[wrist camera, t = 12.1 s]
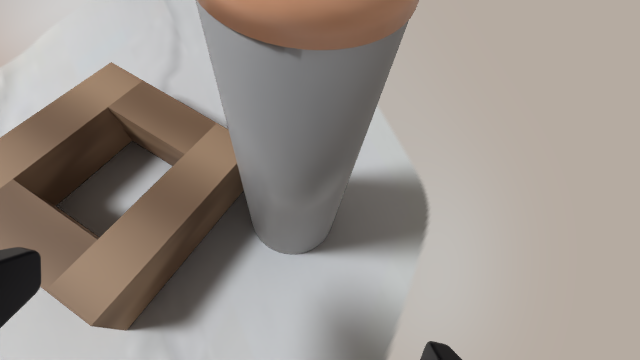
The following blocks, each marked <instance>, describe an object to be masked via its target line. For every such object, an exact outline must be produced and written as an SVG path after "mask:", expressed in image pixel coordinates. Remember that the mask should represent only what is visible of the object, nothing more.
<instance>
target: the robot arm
mask: <svg viewBox="0 0 640 360" xmlns="http://www.w3.org/2000/svg"><path fill="white" fill-rule="evenodd" d="M40 286H41V256H40V254H39V252H37V251H35V250H31V249H27V248H22V247H14V248H8V249H3V250H0V328H1V327H2V326H3V325H4V324H5V323H6V322H7V321H8V320H9V319H10V318H11V317H12V316H13V315H14V314H15V313H16V312H17V311H18V310H19V309H20V308H21V307H22V306H23V305H25V304H26V303H27V302H28V301H29V300H30V299H31V298H32V297H33V296H34V295H35V294H36V293H37V291H38V290H39V288H40ZM420 360H462V359H461V358H460V357H459V356H458V355H457V354H456V353H455V352H454V351H453V350H452V349H451V348H450V347H449V346H447V345H445V344H442V343H437V342H433V341H430V342H428V343H427V344H426V346H425V348H424V351H423V354H422V357H421V359H420Z"/></svg>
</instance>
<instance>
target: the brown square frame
mask: <svg viewBox="0 0 640 360" xmlns="http://www.w3.org/2000/svg"><path fill="white" fill-rule="evenodd" d="M131 141H133V142H135V143H137V144H138V145H140V146H141V147H143V148H145V149H146V150H148V151H149V152H151V153H153V154H154V155H156V156H157V157H159V158H161V159H162V160H164V161H165V162H167V163H169V164H170V165H172V167H171V168H170V169H169V170H168V171H167V172H166V173H165V174H164V175H163V176H162V177H161V178H160V179H159V180H158V181H157V182H156V183H155V184H154V185H153V186H152V187H151V188H150V189H149V190H148V191H147V192H146V193H145V194H144V195H143V196H142V197H141V198H140V199H139V200H138V201H137V202H136V203H135V204H134V205H133V206H131V207H130V208H129V209H128V210H127V211H126V212H125V213H124V214H123V215H122V216H121V217H120V218H119V219H118V220H117V221H116V222H115V223H114V224H113V225H112V226H111V227H110V228H109V229H108V230H107V231H106V232H105V233H104V234H103V235H102V236H101V237H98V236H97V235H95V234H94V233H93V232H91V231H90V230H88V229H87V228H86V227H84V226H83V225H81V224H80V223H79V222H77V221H76V220H74V219H73V218H71V217H70V216H69V215H67V214H66V213H64V212H63V211H62V210H60V209H59V208H57V207H56V205H57V204H58V203H60V202H61V201H62V200H63V199H64V198H66V197H67V196H68V195H69V194H70V193H71V192H73V191H74V190H75V189H76V188H77V187H78V186H80V185H81V184H82V183H83V182H84V181H85V180H87V179H88V178H89V177H90V176H91V175H92V174H94V173H95V172H96V171H97V170H98V169H99V168H101V167H102V166H103V165H104V164H105V163H107V162H108V161H109V160H110V159H111V158H112V157H114V156H115V155H116V154H117V153H118V152H119V151H121V150H122V149H123V148H124V147H125V146H126V145H128V144H129V143H130V142H131ZM243 190H244V188H243V185H242V181H241V177H240V173H239V169H238V165H237V161H236V157H235V153H234V149H233V145H232V141H231V137H230V134H229V130H228V129H226V128H225V127H223V126H221V125H219V124H218V123H216V122H214V121H212V120H211V119H209V118H207V117H205V116H204V115H202V114H200V113H198V112H197V111H195V110H193V109H192V108H190V107H188V106H186V105H185V104H183V103H181V102H179V101H178V100H176V99H174V98H172V97H171V96H169V95H167V94H165V93H164V92H162V91H160V90H159V89H157V88H155V87H153V86H152V85H150V84H148V83H146V82H145V81H143V80H141V79H139V78H138V77H136V76H134V75H132V74H131V73H129V72H127V71H126V70H124V69H122V68H120V67H119V66H117V65H115V64H113V63H112V62H111V63H109V64H108V65H106V66H105V67H103V68H102V69H101V70H99V71H98V72H96V73H95V74H93V75H92V76H90V77H89V78H87V79H86V80H84V81H83V82H81V83H80V84H79V85H77V86H76V87H74V88H73V89H71V90H70V91H68V92H67V93H65V94H64V95H62V96H61V97H59V98H58V99H56V100H55V101H54V102H52V103H51V104H49V105H48V106H46V107H45V108H43V109H42V110H40V111H39V112H37V113H36V114H34V115H33V116H31V117H30V118H29V119H27V120H26V121H24V122H23V123H21V124H20V125H18V126H17V127H15V128H14V129H12V130H11V131H9V132H8V133H7V134H5V135H4V136H2V137H1V138H0V250H3V249H8V248H14V247H22V248H27V249H31V250H35V251H37V252H39V254H40V256H41V286H40V287H42V288H43V289H44V290H45V291H47V292H48V293H49V294H51V295H52V296H53V297H54V298H56V299H57V300H58V301H59V302H61V303H62V304H63V305H65V306H66V307H67V308H68V309H70V310H71V311H72V312H74V313H75V314H76V315H77V316H79V317H80V318H81V319H83V320H84V321H85V322H86V323H88V324H89V325H90V326H95V327H103V328H110V329H118V330H127V329H128V328H129V327H130V326H131V324H132V323H133V322H134V321H135V320H136V319H137V317H138V316H139V315H140V314H141V313H142V311H143V310H144V309H145V308H146V307H147V305H148V304H149V303H150V302H151V301H152V299H153V298H154V297H155V296H156V295H157V293H158V292H159V291H160V290H161V289H162V287H163V286H164V285H165V284H166V283H167V281H168V280H169V279H170V278H171V277H172V275H173V274H174V273H175V272H176V271H177V269H178V268H179V267H180V266H181V265H182V263H183V262H184V261H185V260H186V259H187V257H188V256H189V255H190V254H191V253H192V251H193V250H194V249H195V248H196V247H197V246H198V244H199V243H200V242H201V241H202V240H203V238H204V237H205V236H206V235H207V234H208V232H209V231H210V230H211V229H212V228H213V226H214V225H215V224H216V223H217V222H218V220H219V219H220V218H221V217H222V216H223V214H224V213H225V212H226V211H227V210H228V208H229V207H230V206H231V205H232V204H233V202H234V201H235V200H236V199H237V198H238V196H239V195H240V194H241V193H242V192H243Z"/></svg>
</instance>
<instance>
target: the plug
mask: <svg viewBox="0 0 640 360" xmlns="http://www.w3.org/2000/svg"><path fill="white" fill-rule="evenodd" d="M418 2H419V0H196V4H197V8H198V12H199V16H200V20H201V24H202V28H203V31H204V35H205V39H206V43H207V47H208V51H209V55H210V59H211V63H212V67H213V71H214V75H215V79H216V82H217V86H218V90H219V94H220V98H221V102H222V106H223V110H224V114H225V118H226V122H227V126H228V130H229V134H230V137H231V141H232V145H233V149H234V153H235V157H236V161H237V165H238V169H239V173H240V177H241V181H242V185H243V188H244V192H245V196H246V200H247V204H248V208H249V212H250V216H251V220H252V224H253V227H254V230H255V232H256V234H257V236H258V237H259V239H260V240H261V241H262V242H263V243H264V244H265V245H266V246H268V247H269V248H271V249H273V250H275V251H277V252H280V253H284V254H300V253H304V252H307V251H310V250H312V249H314V248H315V247H317V246H318V245H319V244H321V243H322V242H323V241H324V239H325V238H326V237H327V235H328V233H329V231H330V229H331V226H332V224H333V221H334V218H335V216H336V213H337V210H338V208H339V205H340V202H341V200H342V197H343V194H344V192H345V189H346V186H347V184H348V181H349V178H350V176H351V173H352V170H353V168H354V165H355V162H356V160H357V157H358V154H359V152H360V149H361V146H362V144H363V141H364V138H365V136H366V133H367V130H368V128H369V125H370V122H371V120H372V117H373V114H374V112H375V109H376V106H377V104H378V101H379V98H380V95H381V93H382V90H383V88H384V85H385V82H386V80H387V77H388V74H389V72H390V69H391V66H392V64H393V61H394V58H395V56H396V53H397V50H398V48H399V45H400V42H401V39H402V37H403V34H404V32H405V29H406V26H407V24H408V21H409V19H410V18H411V16H412V15H413V13H414V11H415V10H416V7H417V4H418Z"/></svg>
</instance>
